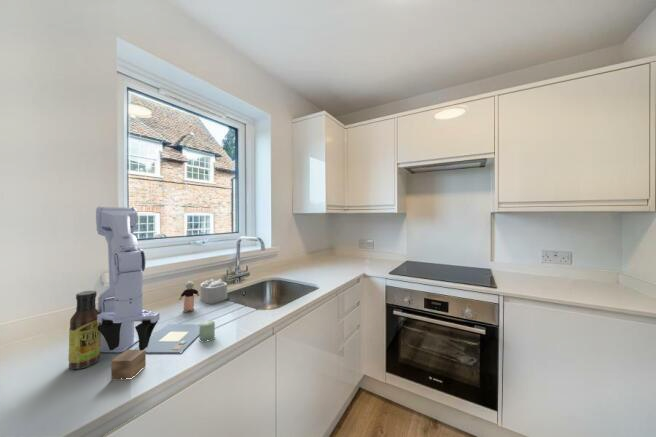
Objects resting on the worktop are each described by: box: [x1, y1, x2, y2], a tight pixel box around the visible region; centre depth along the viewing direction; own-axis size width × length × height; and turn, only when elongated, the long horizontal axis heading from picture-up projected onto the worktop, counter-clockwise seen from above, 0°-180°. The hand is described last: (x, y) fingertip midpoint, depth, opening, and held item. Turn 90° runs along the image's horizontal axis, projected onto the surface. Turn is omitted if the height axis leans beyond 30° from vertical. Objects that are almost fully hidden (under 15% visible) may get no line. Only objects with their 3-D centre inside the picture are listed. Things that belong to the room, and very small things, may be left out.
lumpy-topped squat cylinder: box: [199, 278, 228, 304], centre depth 120 cm, size 10×13×9 cm
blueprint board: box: [133, 323, 201, 354], centre depth 82 cm, size 15×18×1 cm
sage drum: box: [198, 320, 216, 342], centre depth 83 cm, size 5×5×5 cm
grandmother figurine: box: [178, 280, 200, 313], centre depth 105 cm, size 8×4×13 cm, turn 143°
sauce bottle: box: [68, 290, 101, 370], centre depth 68 cm, size 6×6×20 cm
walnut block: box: [110, 349, 147, 379], centre depth 64 cm, size 5×5×5 cm
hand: (129, 348), depth 64 cm, fingers open, 7 cm apart
